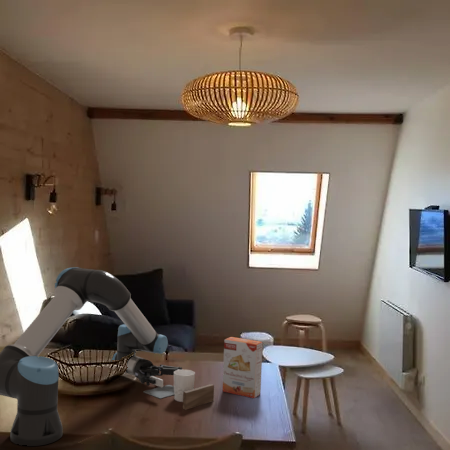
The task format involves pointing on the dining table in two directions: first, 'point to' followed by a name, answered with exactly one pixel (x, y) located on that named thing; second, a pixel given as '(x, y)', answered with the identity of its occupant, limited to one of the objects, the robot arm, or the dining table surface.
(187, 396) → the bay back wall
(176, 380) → the white cup
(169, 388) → the front mat
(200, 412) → the dining table surface
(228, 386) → the cracker box
